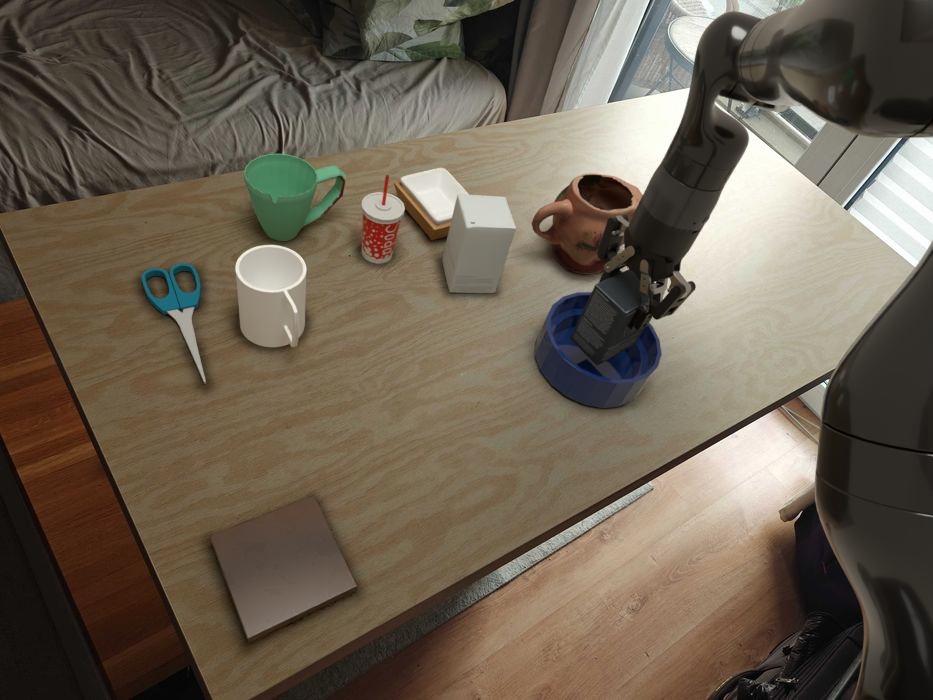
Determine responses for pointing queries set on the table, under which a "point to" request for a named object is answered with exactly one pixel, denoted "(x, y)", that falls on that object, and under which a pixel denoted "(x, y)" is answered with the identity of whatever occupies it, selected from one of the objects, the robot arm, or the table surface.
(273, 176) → the mug
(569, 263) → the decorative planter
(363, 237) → the beverage cup
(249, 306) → the cup
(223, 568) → the board
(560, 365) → the bowl
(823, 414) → the robot arm
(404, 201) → the soap dish
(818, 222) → the table surface
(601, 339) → the box
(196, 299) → the scissors
